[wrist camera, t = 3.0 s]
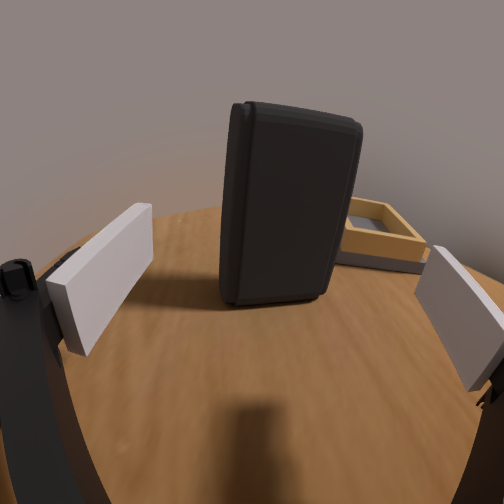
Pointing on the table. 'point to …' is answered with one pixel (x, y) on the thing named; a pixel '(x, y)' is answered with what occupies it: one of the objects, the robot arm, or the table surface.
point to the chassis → (380, 239)
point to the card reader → (284, 201)
